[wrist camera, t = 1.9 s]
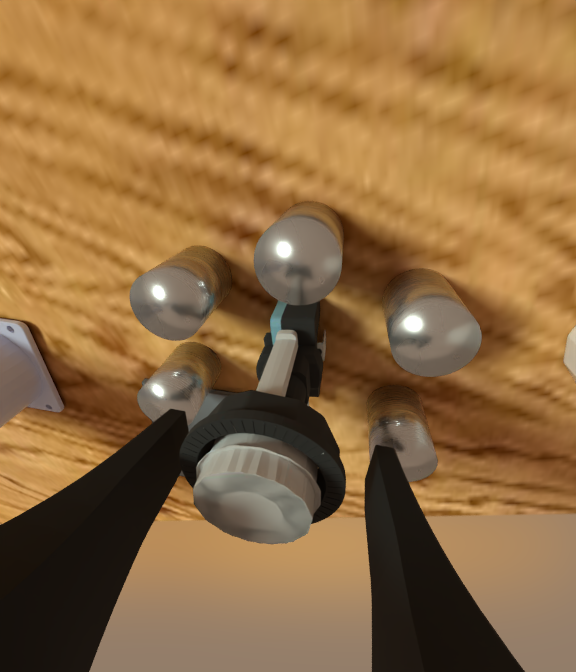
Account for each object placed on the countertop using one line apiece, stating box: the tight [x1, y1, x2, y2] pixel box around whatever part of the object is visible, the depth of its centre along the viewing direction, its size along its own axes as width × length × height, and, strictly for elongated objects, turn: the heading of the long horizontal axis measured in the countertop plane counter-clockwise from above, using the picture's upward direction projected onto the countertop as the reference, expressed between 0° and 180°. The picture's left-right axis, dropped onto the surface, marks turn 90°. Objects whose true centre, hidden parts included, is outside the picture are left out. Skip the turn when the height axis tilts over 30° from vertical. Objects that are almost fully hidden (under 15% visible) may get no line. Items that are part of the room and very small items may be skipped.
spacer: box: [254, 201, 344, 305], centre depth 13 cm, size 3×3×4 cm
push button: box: [179, 300, 346, 544], centre depth 13 cm, size 7×5×10 cm
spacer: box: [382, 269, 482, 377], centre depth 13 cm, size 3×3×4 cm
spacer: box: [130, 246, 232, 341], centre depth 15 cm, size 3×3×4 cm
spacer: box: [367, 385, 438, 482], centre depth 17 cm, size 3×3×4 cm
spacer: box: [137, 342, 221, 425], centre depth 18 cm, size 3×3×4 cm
